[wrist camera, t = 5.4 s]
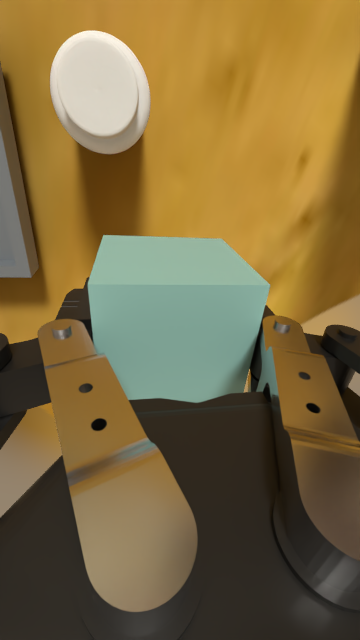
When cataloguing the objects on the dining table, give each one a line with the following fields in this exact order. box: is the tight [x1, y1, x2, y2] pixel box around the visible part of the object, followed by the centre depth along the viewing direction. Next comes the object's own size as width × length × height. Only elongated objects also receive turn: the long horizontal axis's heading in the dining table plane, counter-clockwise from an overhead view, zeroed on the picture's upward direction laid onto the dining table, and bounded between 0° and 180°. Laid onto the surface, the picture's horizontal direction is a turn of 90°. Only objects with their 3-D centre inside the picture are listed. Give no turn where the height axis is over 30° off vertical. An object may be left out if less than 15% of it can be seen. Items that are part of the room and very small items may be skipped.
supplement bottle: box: [50, 31, 150, 154], centre depth 18 cm, size 6×6×10 cm
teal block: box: [88, 235, 270, 403], centre depth 11 cm, size 5×5×5 cm
